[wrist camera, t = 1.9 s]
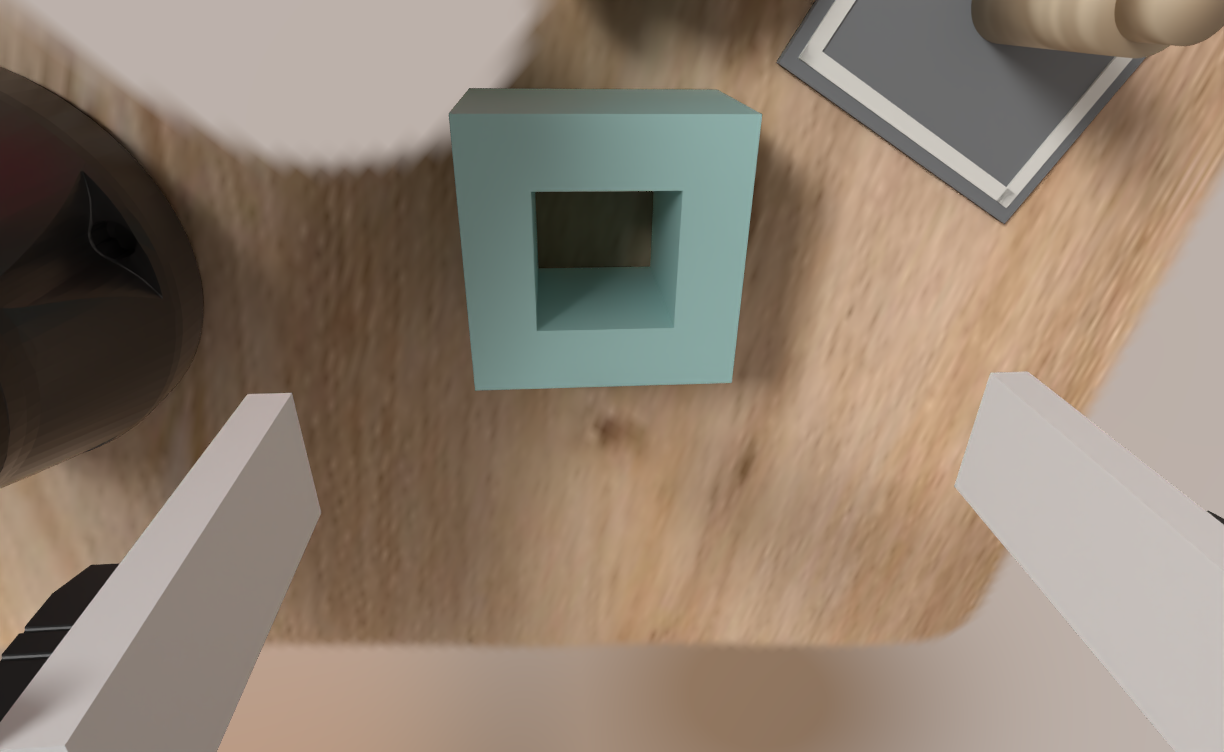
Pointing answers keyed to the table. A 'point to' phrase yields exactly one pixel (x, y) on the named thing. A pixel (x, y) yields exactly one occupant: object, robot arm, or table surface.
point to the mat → (953, 91)
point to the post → (1098, 24)
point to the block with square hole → (604, 296)
